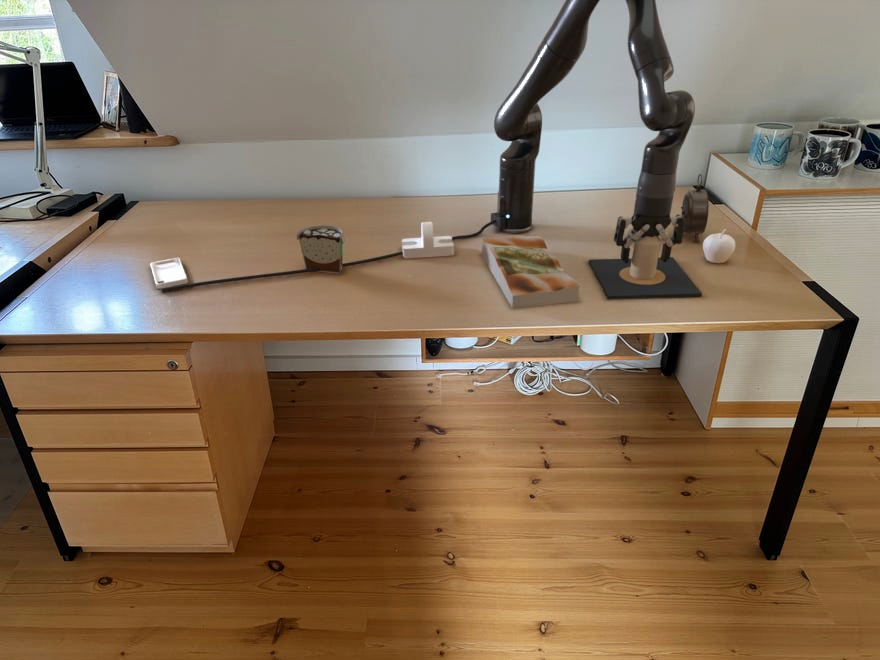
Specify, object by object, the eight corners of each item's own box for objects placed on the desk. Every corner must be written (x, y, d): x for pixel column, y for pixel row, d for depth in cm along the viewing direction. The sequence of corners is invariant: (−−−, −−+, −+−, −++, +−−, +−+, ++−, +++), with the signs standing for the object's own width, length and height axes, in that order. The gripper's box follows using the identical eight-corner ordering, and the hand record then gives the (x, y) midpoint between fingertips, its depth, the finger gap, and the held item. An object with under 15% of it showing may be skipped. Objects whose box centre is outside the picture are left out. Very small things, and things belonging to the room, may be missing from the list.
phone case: (188, 283, 163) (180, 261, 175) (187, 278, 162) (179, 257, 174) (157, 289, 161) (151, 267, 172) (155, 284, 160) (149, 262, 172)
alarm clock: (703, 244, 169) (716, 180, 160) (681, 243, 170) (692, 180, 161) (696, 228, 178) (708, 167, 169) (675, 228, 179) (685, 167, 170)
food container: (355, 264, 168) (352, 226, 163) (346, 274, 163) (342, 235, 158) (311, 260, 172) (306, 222, 166) (300, 269, 167) (295, 231, 162)
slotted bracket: (403, 258, 170) (402, 229, 166) (402, 248, 176) (400, 219, 172) (454, 255, 170) (454, 226, 166) (451, 245, 176) (451, 216, 172)
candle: (656, 271, 154) (663, 230, 149) (653, 281, 150) (660, 239, 145) (631, 268, 156) (637, 227, 151) (627, 278, 152) (633, 236, 147)
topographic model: (481, 254, 169) (482, 236, 167) (537, 249, 171) (538, 231, 168) (512, 307, 144) (513, 286, 142) (577, 301, 145) (579, 280, 143)
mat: (607, 299, 146) (608, 295, 145) (588, 262, 163) (588, 259, 162) (701, 296, 145) (702, 293, 144) (672, 260, 162) (672, 256, 161)
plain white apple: (717, 268, 156) (725, 236, 152) (693, 258, 162) (699, 227, 157) (738, 262, 159) (746, 230, 155) (714, 252, 164) (720, 221, 160)
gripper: (683, 184, 146) (670, 254, 154) (617, 187, 146) (608, 256, 155) (695, 195, 139) (681, 267, 148) (626, 198, 140) (616, 269, 148)
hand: (644, 261), depth 151 cm, fingers open, 8 cm apart
